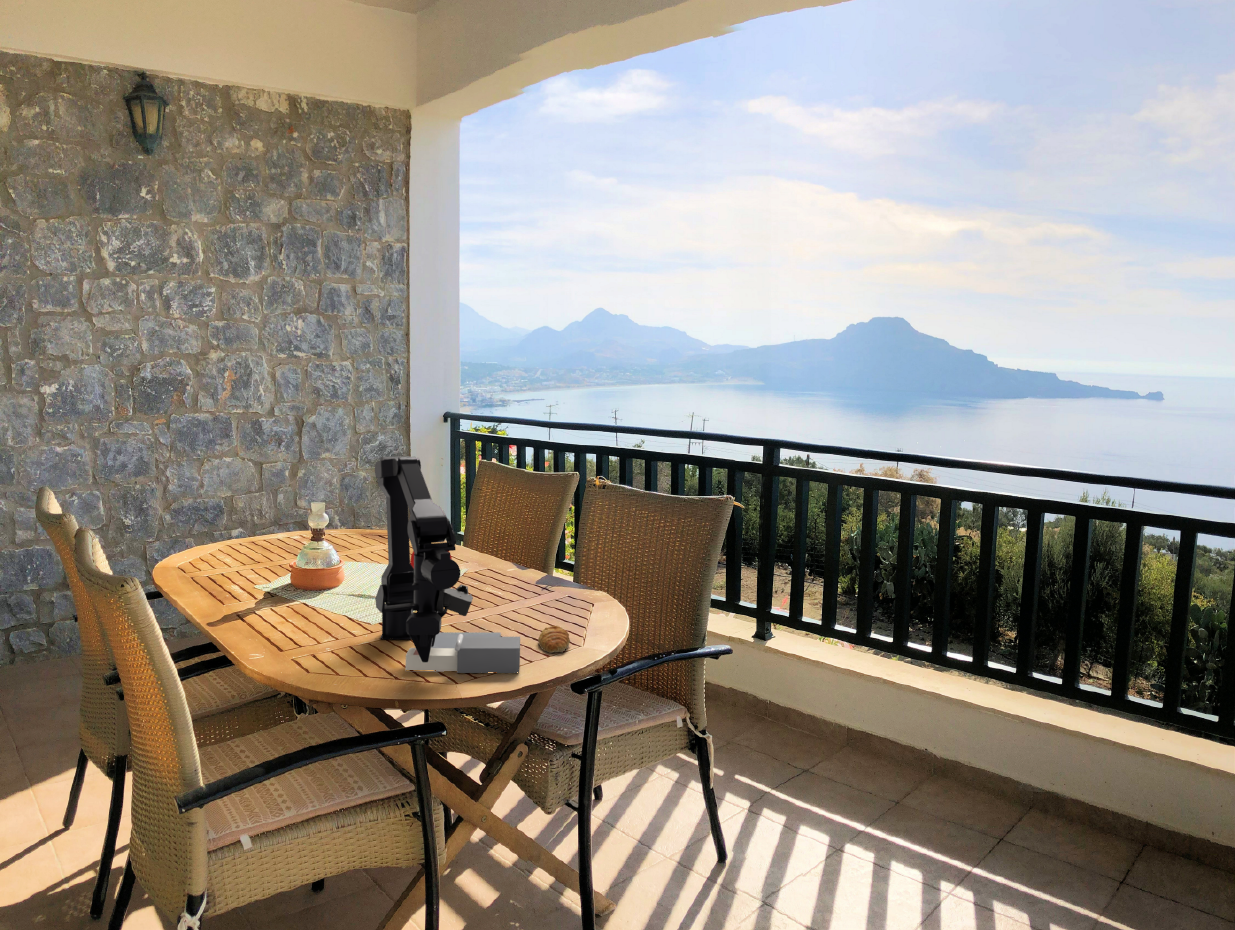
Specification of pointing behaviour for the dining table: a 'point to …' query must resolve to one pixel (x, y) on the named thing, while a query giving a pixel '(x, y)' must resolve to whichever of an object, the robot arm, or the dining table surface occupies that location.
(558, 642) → the pastry
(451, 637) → the mat
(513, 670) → the block
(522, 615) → the dining table surface
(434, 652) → the white block
